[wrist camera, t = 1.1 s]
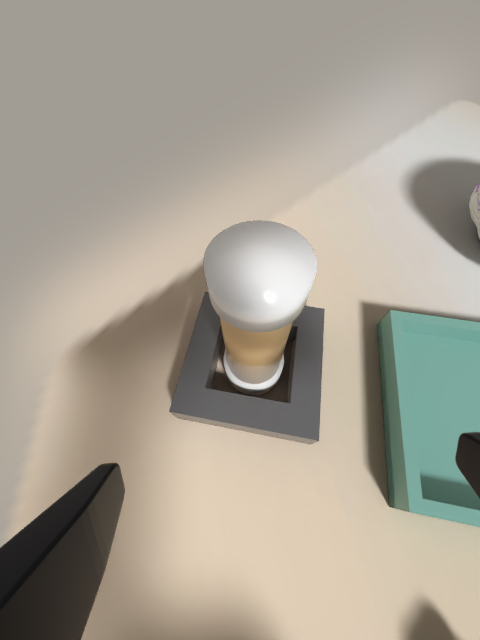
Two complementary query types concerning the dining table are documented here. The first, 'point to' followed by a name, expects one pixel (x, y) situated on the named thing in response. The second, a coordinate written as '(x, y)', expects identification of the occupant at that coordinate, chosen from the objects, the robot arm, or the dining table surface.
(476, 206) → the paper bowls
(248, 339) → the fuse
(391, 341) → the parts tray
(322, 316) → the frame
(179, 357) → the dining table surface
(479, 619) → the dining table surface
